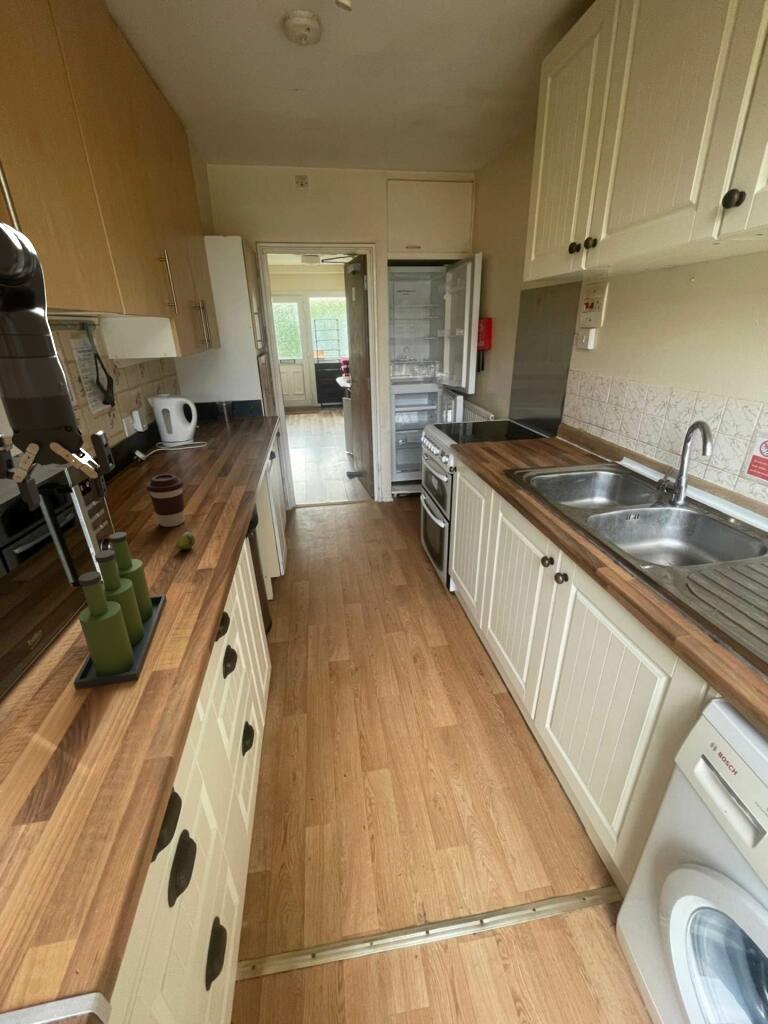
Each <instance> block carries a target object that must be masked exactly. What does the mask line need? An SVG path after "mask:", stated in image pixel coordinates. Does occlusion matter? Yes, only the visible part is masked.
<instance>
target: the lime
mask: <svg viewBox="0 0 768 1024" xmlns="http://www.w3.org/2000/svg"><path fill="white" fill-rule="evenodd" d="M195 544H196V538H195V536H194V534H193V533H192V532H189V531H187V532H183V533H182V534H181V535H180V536H179V538H178V539H177V542H176V547H177V548H178V550H183V551H184V550H185V551H187V550H190V549H191V548H193V547H194V545H195Z"/></svg>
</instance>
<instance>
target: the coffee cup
mask: <svg viewBox="0 0 768 1024" xmlns="http://www.w3.org/2000/svg"><path fill="white" fill-rule="evenodd" d="M183 487H184V480H183V479H182V478H180V477H178V476H177V475H175V474H173V473H163V474H158V475H155V476H153V477H151V479H150V481H148V482H146V490H147V491H148V492H150V499H151V502H152V506H153V509H154V513H155V514H156V517H157V520H158V523H159V525H160V526H161V527H165V528H172V527H177V526H179V525H180V526H181V525H182V524H184V522H185V521H186V518H185V501H184V491H183Z"/></svg>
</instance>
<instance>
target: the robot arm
mask: <svg viewBox="0 0 768 1024" xmlns="http://www.w3.org/2000/svg"><path fill="white" fill-rule="evenodd" d="M46 295H47V294H46V284H45V276H44V271H43V267H42V263H41V260H40V258H39V255H38V252H37V251H36V249H35V247H34V245H33V243H32V242H31V240H30V239H29V238H28V237H27V236H26V235H24V233H22V232H21V231H20V230H19V229H17V228H16V227H14V226H12V225H10V224H8V223H5V222H3V221H1V220H0V400H1V404H2V407H3V409H4V413H5V415H6V418H7V421H8V425H9V427H10V428H11V430H12V435H5V433H2V432H1V433H0V480H5V479H7V480H11V481H14V482H15V483H16V485H17V488H18V491H19V493H20V496H21V500H22V501H23V502H24V503H27V505H28V507H34V506H37V505H38V504H40V503H41V495H40V493H39V490H38V489H39V488H38V486H37V483H36V480H35V477H31V476H32V474H33V472H34V470H35V469H36V467H37V466H38V465H40V466H49V465H52V464H54V465H59V466H61V465H67V464H68V463H69V464H70V465H71V466H73V467H74V468H76V469H78V470H81V471H82V472H83V473H84V474H85V475H86V476H88V477H89V478H88V483H89V486H90V490H91V494H92V498H93V501H94V502H101V501H102V500H103V499H104V498H105V497H106V495H107V493H108V489H107V485H106V481H105V478H104V475H105V474H106V475H107V474H109V473H111V471H113V470H114V469H115V467H116V463H115V460H114V457H113V453H112V449H111V446H110V443H109V441H108V437H107V434H106V432H105V431H104V430H102V429H99V430H97V431H95V432H87V433H83V432H82V431H81V430H80V428H79V427H78V419H77V416H76V413H75V408H74V405H73V402H72V397H71V393H70V390H69V385H68V381H67V379H66V375H65V372H64V368H63V367H62V364H61V362H60V360H59V357H58V354H57V350H56V346H55V342H54V338H53V335H52V331H51V328H50V325H49V322H48V316H47V311H48V310H47V309H48V308H47V307H48V306H47V296H46ZM84 443H87V445H88V447H90V448H91V449H93V451H94V453H95V456H96V459H97V462H98V463H97V462H96V461H95V460H93V458H92V456H91V455H90V454H89V453H88V452H86V451H85V450H84V449H83V448H82V446H83V445H84ZM13 447H16V448H17V449H18V450H19V451H21V452H22V454H23V456H22V457H21V459H20V461H19V463H18V464H17V468H16V467H15V464H14V459H13V456H12V452H11V450H12V449H13Z"/></svg>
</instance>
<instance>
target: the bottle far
mask: <svg viewBox="0 0 768 1024" xmlns="http://www.w3.org/2000/svg"><path fill="white" fill-rule="evenodd" d="M108 540H109V543H111V547H112V550H113V551H114V553H115V562H116V566H117V569H118V573H119V577H120V578H125V579H129V580H131V581H132V585H133V589H134V593H135V597H136V601H137V605H138V609H139V613H140V617H141V621H142V622H143V621H145V620H147V619H148V618H150V617H151V616H152V614H153V612H154V611H153V606H152V602H151V598H150V596H151V595H150V590H149V586H148V582H147V581H148V580H147V577H146V573H145V569H144V564H143V562H142V560H140V559H137V558H136V559H135V558H132V555H131V552H130V548H129V544H128V534H127V532H125V531H118V532H114V533H113V532H112V533H110V535H109V536H108Z"/></svg>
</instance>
